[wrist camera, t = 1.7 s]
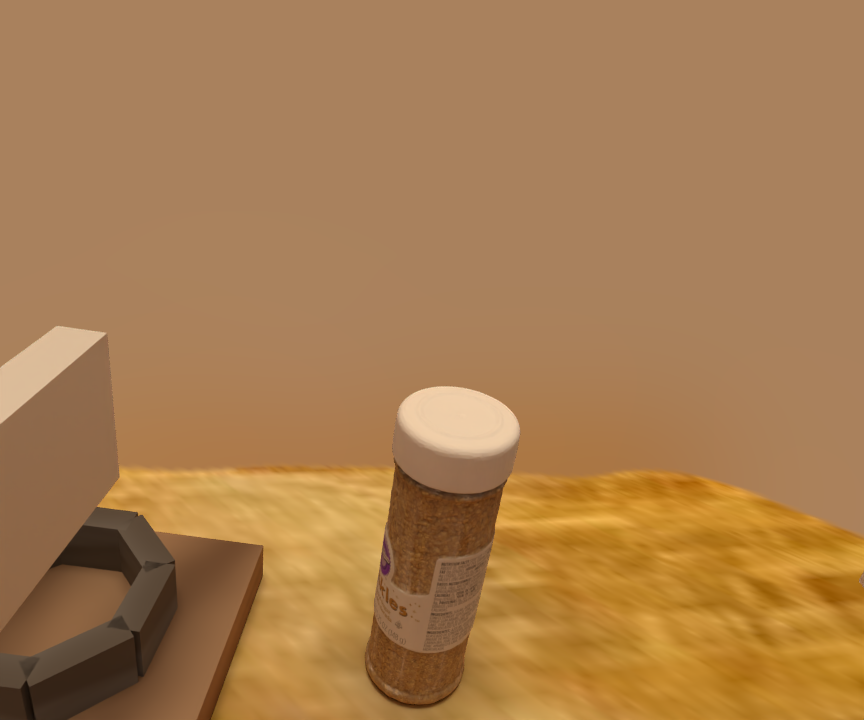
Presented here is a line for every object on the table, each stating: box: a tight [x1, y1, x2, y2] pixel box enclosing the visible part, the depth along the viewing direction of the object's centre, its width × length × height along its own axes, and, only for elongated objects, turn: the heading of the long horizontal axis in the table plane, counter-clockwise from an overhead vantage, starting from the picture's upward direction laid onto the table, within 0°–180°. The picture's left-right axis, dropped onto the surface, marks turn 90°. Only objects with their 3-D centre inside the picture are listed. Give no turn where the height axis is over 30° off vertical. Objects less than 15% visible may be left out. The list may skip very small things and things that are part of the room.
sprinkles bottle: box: [365, 386, 520, 705], centre depth 27 cm, size 5×5×13 cm
